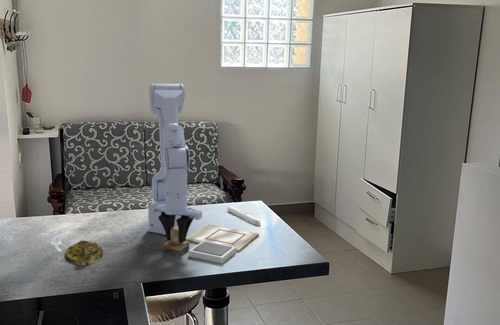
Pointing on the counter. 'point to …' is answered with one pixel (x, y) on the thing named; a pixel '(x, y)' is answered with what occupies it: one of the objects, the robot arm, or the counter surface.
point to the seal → (84, 253)
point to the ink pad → (212, 252)
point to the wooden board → (223, 236)
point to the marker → (244, 215)
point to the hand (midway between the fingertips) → (176, 240)
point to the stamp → (175, 243)
